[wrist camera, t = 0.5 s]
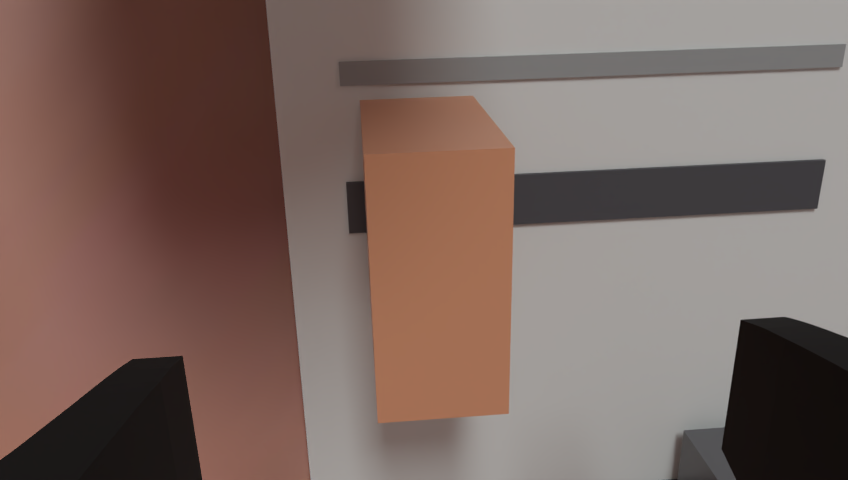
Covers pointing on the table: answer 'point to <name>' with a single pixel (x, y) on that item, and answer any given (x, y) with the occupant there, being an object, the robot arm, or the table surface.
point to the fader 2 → (703, 456)
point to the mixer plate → (575, 214)
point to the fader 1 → (438, 256)
